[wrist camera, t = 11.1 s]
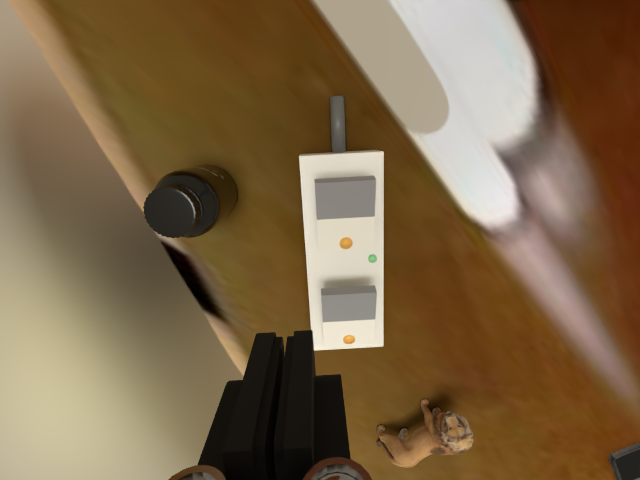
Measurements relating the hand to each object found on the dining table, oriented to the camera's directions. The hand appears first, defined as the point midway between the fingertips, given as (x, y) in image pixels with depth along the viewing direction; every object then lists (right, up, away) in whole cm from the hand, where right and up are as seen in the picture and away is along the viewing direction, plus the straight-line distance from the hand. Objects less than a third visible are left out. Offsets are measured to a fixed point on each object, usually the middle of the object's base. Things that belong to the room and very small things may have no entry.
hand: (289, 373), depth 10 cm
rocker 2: (+4, -4, +29) cm, 30 cm away
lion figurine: (+15, -23, +42) cm, 50 cm away
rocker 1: (+4, +7, +26) cm, 27 cm away
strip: (+4, +6, +33) cm, 34 cm away
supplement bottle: (-13, +10, +32) cm, 35 cm away
